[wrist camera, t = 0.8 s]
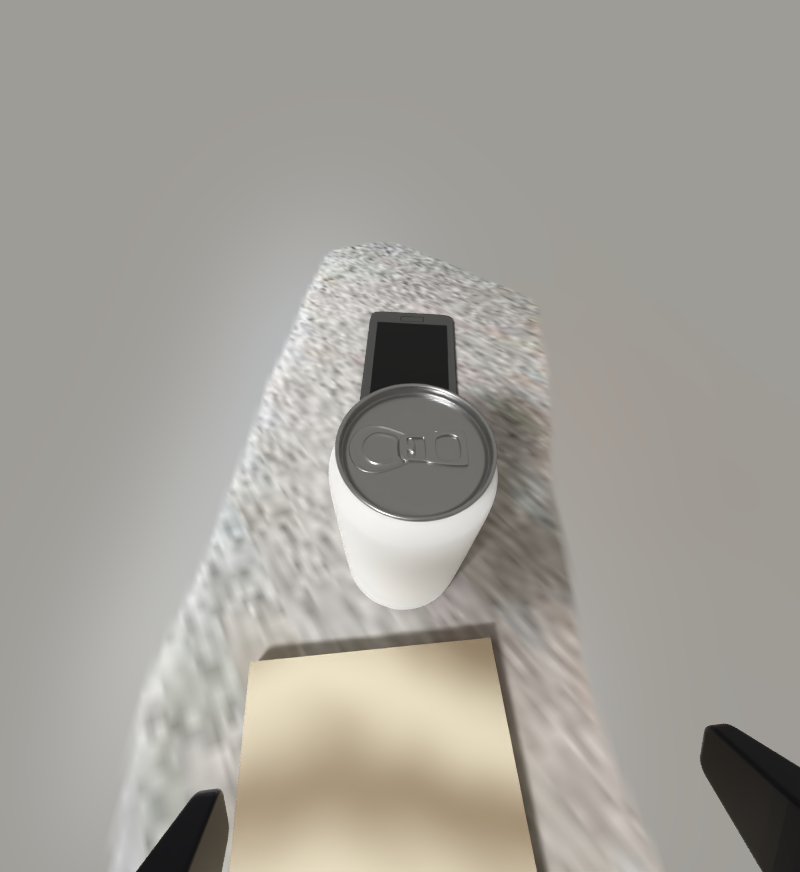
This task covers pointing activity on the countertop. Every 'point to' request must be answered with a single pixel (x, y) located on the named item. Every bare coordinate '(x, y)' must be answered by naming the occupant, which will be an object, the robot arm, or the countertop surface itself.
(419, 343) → the cell phone
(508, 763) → the coaster
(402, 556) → the can
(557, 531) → the countertop surface
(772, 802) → the robot arm
